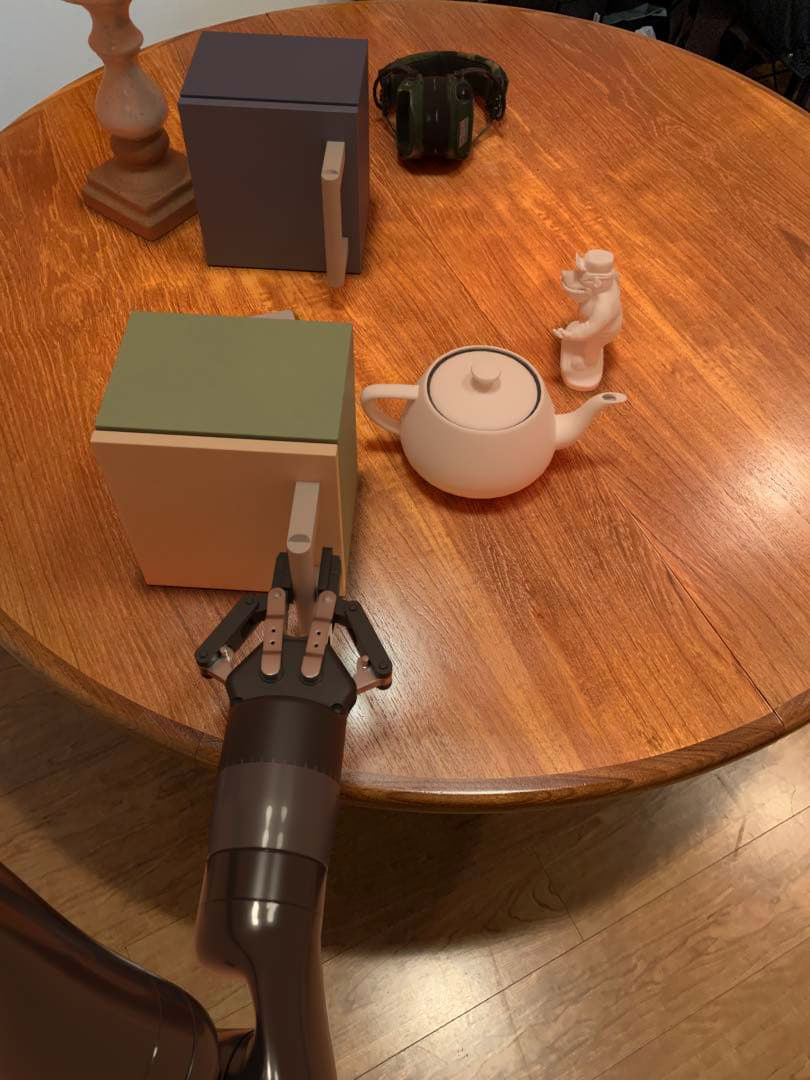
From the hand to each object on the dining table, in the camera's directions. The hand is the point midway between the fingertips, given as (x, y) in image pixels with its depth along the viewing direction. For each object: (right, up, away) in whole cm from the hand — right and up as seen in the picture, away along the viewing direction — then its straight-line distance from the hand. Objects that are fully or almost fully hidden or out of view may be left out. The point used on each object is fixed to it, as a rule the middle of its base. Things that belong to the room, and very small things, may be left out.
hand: (310, 553), depth 66 cm
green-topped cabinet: (-6, +2, +12) cm, 14 cm away
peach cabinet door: (-6, -5, +7) cm, 11 cm away
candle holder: (-21, +39, +37) cm, 58 cm away
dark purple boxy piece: (-5, +35, +34) cm, 49 cm away
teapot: (+14, +9, +17) cm, 24 cm away
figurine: (+24, +19, +25) cm, 39 cm away
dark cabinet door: (-6, +27, +29) cm, 40 cm away
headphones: (+11, +50, +46) cm, 69 cm away
